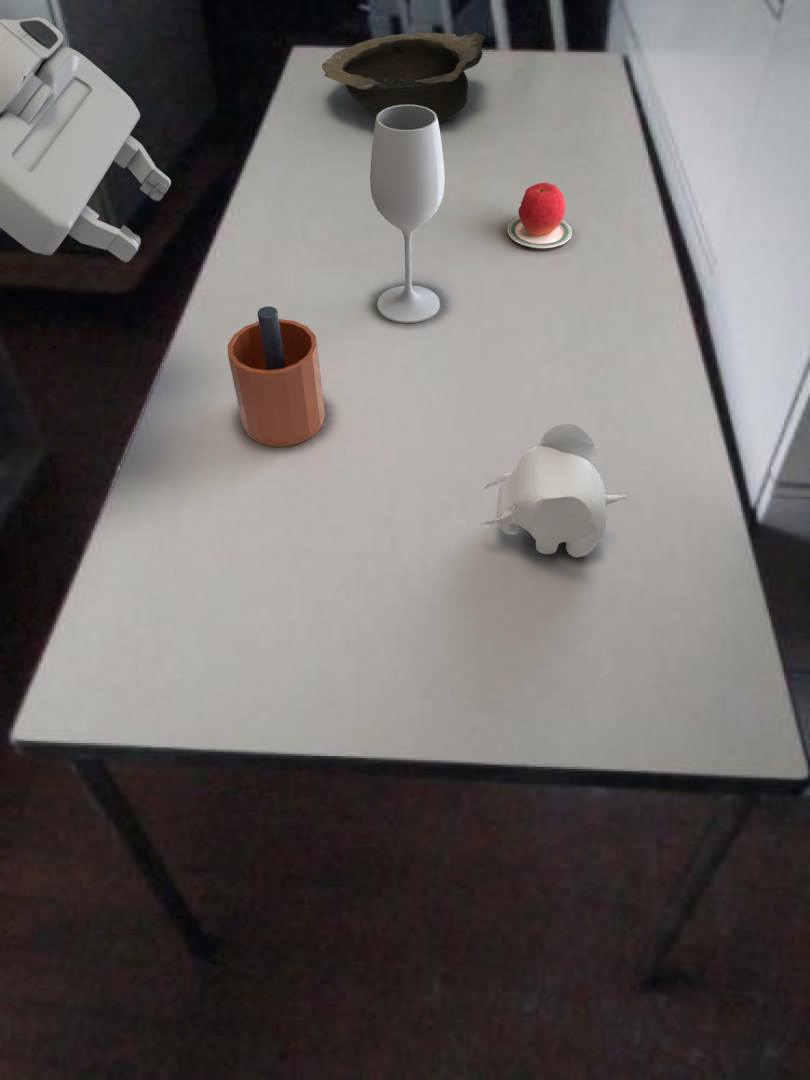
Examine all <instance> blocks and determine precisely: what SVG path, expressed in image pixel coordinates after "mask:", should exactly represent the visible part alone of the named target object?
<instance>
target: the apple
mask: <svg viewBox="0 0 810 1080" xmlns="http://www.w3.org/2000/svg"><path fill="white" fill-rule="evenodd" d="M517 211H518V217H517V218H515V219H513V220H512V221H511V222H509V224H508V226H507V234H508V236H509V238H510V239H511V240H513V241H514V242H515V243H517V244H519V245H521V246H525V247H528V248H533V249H551V248H556V247H559V246H562V245H563V244H564V245H565V243H567V242H568V241H569V240H570V239H571V237H572V233H573V231H572V227H571V225H570V224H568V222H566V221H565V220H563V219H564V216H565V213H566V201H565V197H564V194H563V192H562V191H561V190H560V189H559V187H558V186H557V185H555V184H552V183H549V182H539V183H537V184H533V185H531V186H529V187H528V188H526V189H525V192H524V194H523V197H522V200H521V201H520V206H519V207H518V210H517Z"/></svg>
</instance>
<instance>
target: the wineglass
mask: <svg viewBox="0 0 810 1080" xmlns="http://www.w3.org/2000/svg"><path fill="white" fill-rule="evenodd" d="M442 143H443V142H442V137H441V130H440V124H439V123H438V119H437V115H436V114H435V112H433V111H432V110H431V109H428V108H426V107H423V106H418V105H397V106H392V107H389V108H386V109H381V111H379V112H378V113H377V114H376V118H375V123H374V130H373V137H372V145H371V154H370V155H371V157H370V169H369V171H370V172H369V187H370V193H371V199H372V201H373V203H374V206H375V208H376V210H377V212H378V213H379V214H380V215H381V216H382V217H383V218H384V220H386V222H388V223H390V224H391V225H392V226H394V227H395V228H396V229H398V230H400V231H401V233H402V234H403V235H402V236H403V241H404V285H399V286H394V287H392V288H388V289H387V290H386V291H384V292H383V293H381V294H380V295H379V297H378V299H377V303H376V304H377V305H376V306H377V309H378V312H379V313H380V314H381V315H382V317H384V318H386V319H387V320H390V321H392V322H396V323H400V324H416V323H421V322H424V321H427V320H429V319H431V318H432V317H434V316H435V315H436V314H437V313H438V312H439V310H440V306H441V305H440V304H441V302H440V301H441V300H440V298H439V296H438V295H437V294H436V293H435V292H434V291H432V290H431V289H429V288H426V287H424V286H419V285H412V241H413V234H414V232H415V231H416V230H417V229H419V228H420V227H422V226H423V225H424V224H425V223H428V221H429V220H431V218H432V217H433V216H434V214H436V212H437V211H438V210H439V208H440V205H441V203H442V200H443V198H444V192H445V163H444V152H443V144H442Z"/></svg>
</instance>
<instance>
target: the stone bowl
mask: <svg viewBox="0 0 810 1080" xmlns="http://www.w3.org/2000/svg"><path fill="white" fill-rule="evenodd" d="M484 40H486V39H485V36H484V34H481V33H479V32H477V31H476V32H474V33H471V34H467V33H466V34H465V33H464V34H463V35H462V36H458V35H457V34H455V33H449V32H447V33H440V32H439V33H437V32H415V33H399V34H388V35H384V36H381V37H375V38H371V39H368V40H365V41H363V42H360V43H359V42H358V43H356V44H354V45H352V46H349V47H346V48H343V49H341V50H337V51H336V52H334V53H333V54H332V55H331V57H330V58H327V59H326V60H325V61H324V62H323V63H321V69H322V71H324V75H323V76H324V77H326V78H328V79H331V80H333V81H335V82H338V83H339V84H343V85H345V88H346V90H347V93H349V95H350V96H351V98H352V99H354V101H356V102H357V103H360V104H361V105H363V106H366V107H367V108H369V107H370V108H375V109H381V110H384V109H386V108H389V107H392V106H397V105H418V106H423V107H426V108H428V109H431V110H432V111H433V112H435V114H436V115H437V119H438V123H442V122H444V121H447V120H449V119H452V118H453V117H454V116H455V115H456V113H457V112H460V111H461V110H462V109H464V107H465V105H466V103H467V102H468V91H469V82H468V81H469V80H468V77H467V74H466V72H465V71H466V70H469V69H472V68H474V67H476V66H477V65H478V64H479V63H480V61H481V59H482V57H483V54H484V53H483V50H482V44H483V43H484Z"/></svg>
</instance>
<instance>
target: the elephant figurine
mask: <svg viewBox="0 0 810 1080" xmlns="http://www.w3.org/2000/svg"><path fill="white" fill-rule="evenodd" d="M596 450H597V449H596V447H595V444H594V441H593V440H592V438H591V436H590V435H589V434H588V433H587V432H586V431H585V430H584V429H583V428H581V427H579V426H577V425H575V424H571V423H564V424H559V425H555V426H553V427H551V428H550V429H549V430H547V431H546V432H545V433H544V434H543V435H542V437H541V439H540V441H539V442H538V444H536V446H534V447H531V448H530V449H529V450H527V451H526V452H525V453H523V455H521V457H520V458H519V460H518V463H517V465H516V466H515V469H514V470H513V471H512V472H511V473H504V474H502V475H501V476H499V477H498V478H496V479H494V480H493V481H491V482H489V483H487V484H486V485H485V486H484V487H483V488H482V489H483V490H485V489H487V490H488V489H489V488H492V487H494V486H495V485H497V484H499V483H501V484H500V486H499V488H498V494H497V504H496V505H497V506H496V508H497V509H496V518H493V519H489V520H485V521H483V522H481V523H479V525H480V526H481V525H482V526H483V525H494V524H497V525H498V526H497V527H498V528H499V530H500V531H501V532H502V533H504V534H506V535H510V536H512V535H513V536H514V535H517V534H519V533H520V527H521V528H522V529H524V530H525V531H527V532H528V533H529V534H530V535H531V537H532V538H533V539H534V540H535V549H536V551H537V552H538V553H540V554H543V555H552V554H555V553H556V552H557V550H558V548H559V544H561V543H565V551H566V552H567V554H568V555H570V556H571V557H573V558H581V557H585V556H587V555H588V554H589V553H590V552H591V551H593V550H594V548H596V547H597V545H599V544H600V542H601V540H602V538H603V536H604V533H605V529H606V518H607V517H606V515H607V506H608V505H610V504H614V503H616V502H619V501H621V500H626V499H627V496H626V495H609V494H608V495H607V494H606V490H605V484H604V482H603V478H602V477H601V475H600V473H599V472H598V470H597V469H596V468H595V466H594V465H593V464H592V463H591V462H593V460H594V459H595V458H596V454H597V453H596Z"/></svg>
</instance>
